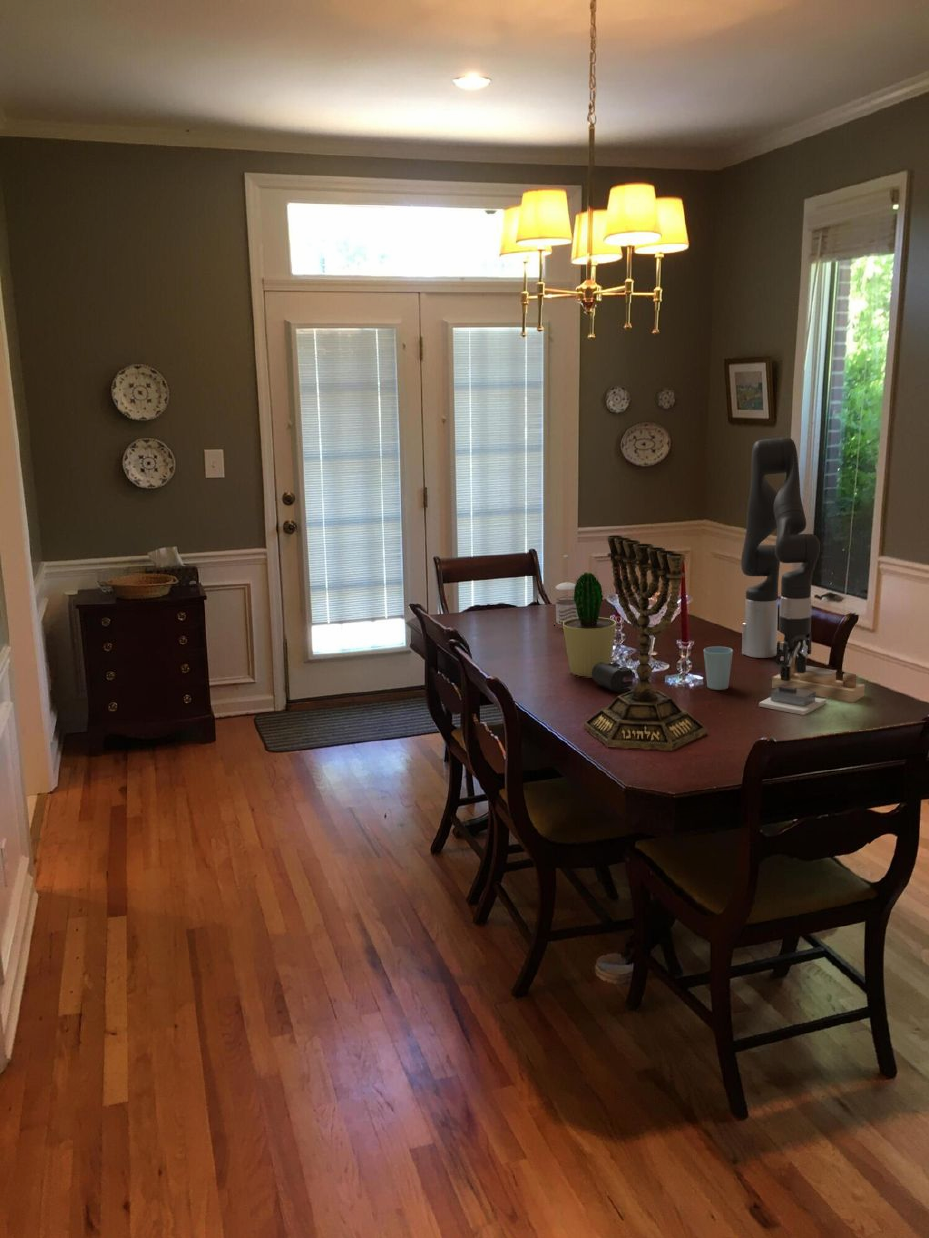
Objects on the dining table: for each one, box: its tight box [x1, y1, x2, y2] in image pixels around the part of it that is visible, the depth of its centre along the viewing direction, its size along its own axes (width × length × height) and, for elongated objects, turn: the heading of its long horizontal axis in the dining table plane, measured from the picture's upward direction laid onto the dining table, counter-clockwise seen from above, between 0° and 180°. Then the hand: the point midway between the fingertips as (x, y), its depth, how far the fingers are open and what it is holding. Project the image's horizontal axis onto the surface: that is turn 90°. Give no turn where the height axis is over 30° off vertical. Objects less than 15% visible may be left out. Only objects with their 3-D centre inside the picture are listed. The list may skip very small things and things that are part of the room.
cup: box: [703, 646, 734, 691], centre depth 271 cm, size 8×8×10 cm
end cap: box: [591, 662, 633, 694], centre depth 274 cm, size 10×7×7 cm
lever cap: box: [770, 685, 816, 707], centre depth 254 cm, size 9×6×3 cm, turn 46°
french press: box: [554, 554, 579, 624], centre depth 349 cm, size 10×12×25 cm
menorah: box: [583, 534, 708, 751], centre depth 235 cm, size 36×25×45 cm
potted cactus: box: [563, 571, 617, 678], centre depth 289 cm, size 15×15×30 cm
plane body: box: [771, 657, 866, 703], centre depth 264 cm, size 22×7×8 cm, turn 46°
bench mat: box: [758, 696, 827, 716], centre depth 255 cm, size 12×12×1 cm
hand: (793, 676), depth 253 cm, fingers open, 8 cm apart
